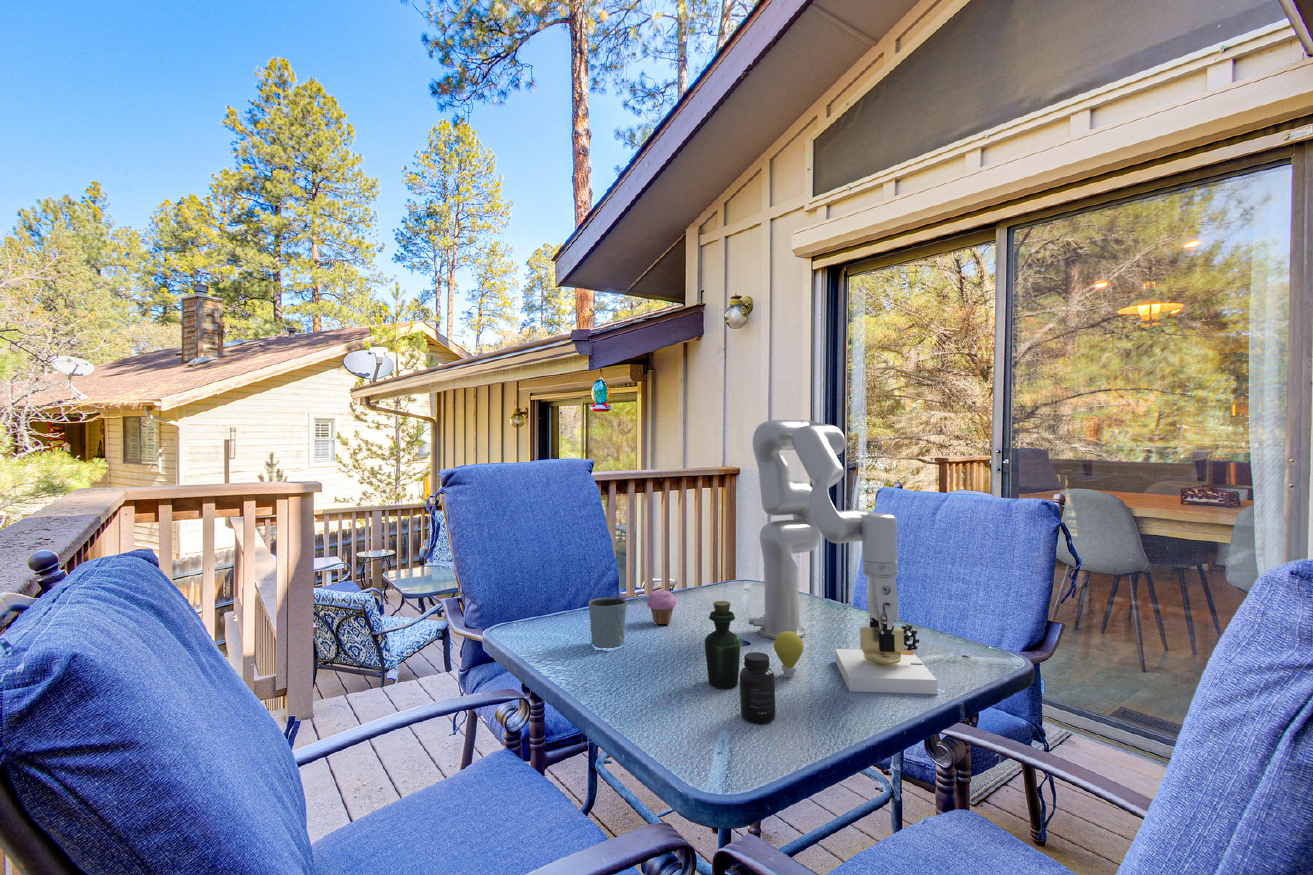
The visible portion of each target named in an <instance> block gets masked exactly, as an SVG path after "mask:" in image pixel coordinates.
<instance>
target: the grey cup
mask: <svg viewBox="0 0 1313 875" xmlns="http://www.w3.org/2000/svg"><path fill="white" fill-rule="evenodd" d="M627 606H628V605H627V600H626V599H625V598H622V597H615V596H614V597H613V596H605V597H604V596H603V597H596V598H593V599H590V600H589V601H588V612H589V620H590V634H591V637H590V638H591V645H592V644H593V645H594V646H595V647H598V648H615V647H619V646H621V645H622V644H623V643H624V644H625V626H626V614H627Z"/></svg>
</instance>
